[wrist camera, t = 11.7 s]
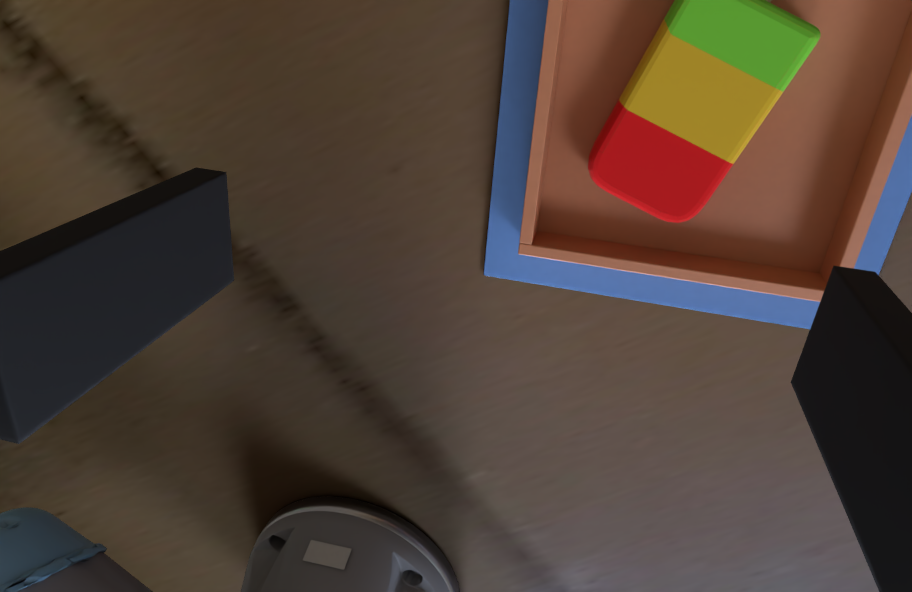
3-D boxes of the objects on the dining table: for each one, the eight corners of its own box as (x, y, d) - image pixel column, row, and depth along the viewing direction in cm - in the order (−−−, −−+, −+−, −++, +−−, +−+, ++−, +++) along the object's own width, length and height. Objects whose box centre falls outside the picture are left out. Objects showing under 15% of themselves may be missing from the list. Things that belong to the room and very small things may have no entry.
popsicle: (578, 168, 31) (575, 179, 29) (784, -200, 24) (796, -213, 22) (683, 222, 31) (687, 237, 29) (923, -129, 24) (946, -137, 22)
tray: (825, 282, 31) (840, 305, 29) (525, 236, 33) (517, 254, 31) (1024, -272, 22) (1068, -299, 20) (588, -276, 24) (584, -300, 22)
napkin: (852, 333, 32) (854, 336, 31) (484, 273, 35) (483, 275, 35) (1130, -371, 20) (1137, -376, 20) (545, -363, 24) (545, -367, 23)
